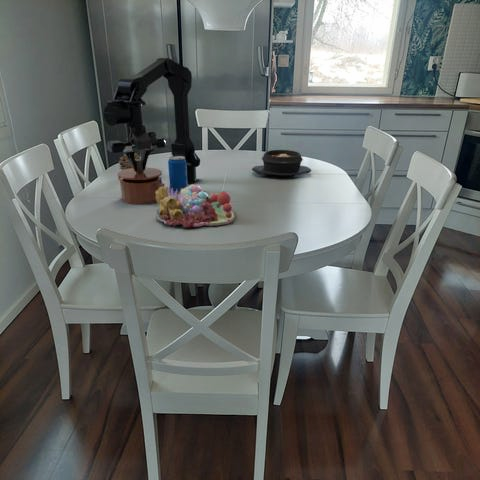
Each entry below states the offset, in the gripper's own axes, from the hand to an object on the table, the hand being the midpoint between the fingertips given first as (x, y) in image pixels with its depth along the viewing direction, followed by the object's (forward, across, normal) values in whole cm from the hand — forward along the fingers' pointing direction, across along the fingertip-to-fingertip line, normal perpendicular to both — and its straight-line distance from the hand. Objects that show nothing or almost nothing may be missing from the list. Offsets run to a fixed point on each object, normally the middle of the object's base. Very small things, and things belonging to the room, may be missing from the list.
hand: (139, 170), depth 155 cm
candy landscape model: (+10, +7, -27) cm, 29 cm away
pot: (+9, 0, 0) cm, 9 cm away
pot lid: (+1, 0, 0) cm, 1 cm away
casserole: (+10, +63, +3) cm, 64 cm away
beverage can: (+10, +15, +1) cm, 18 cm away
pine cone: (+10, +10, +33) cm, 36 cm away
